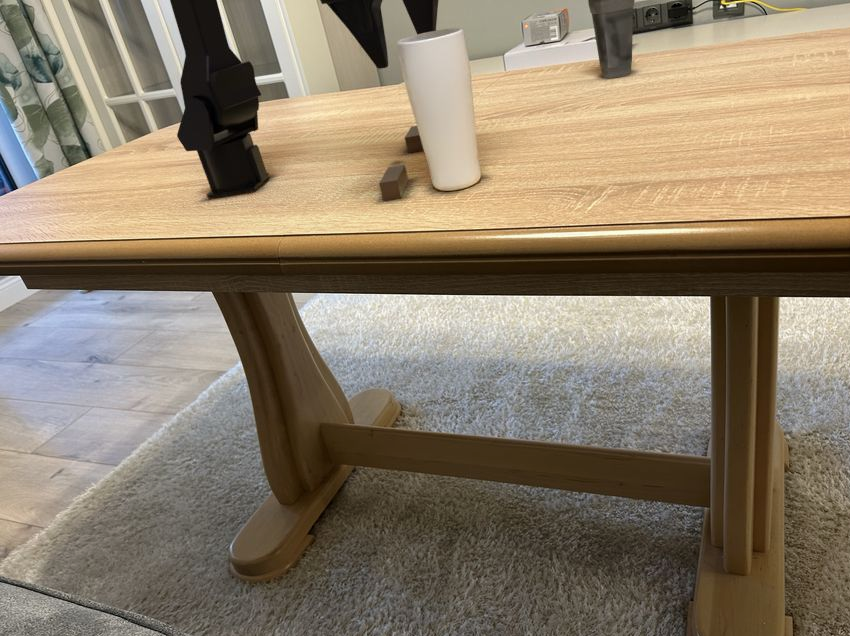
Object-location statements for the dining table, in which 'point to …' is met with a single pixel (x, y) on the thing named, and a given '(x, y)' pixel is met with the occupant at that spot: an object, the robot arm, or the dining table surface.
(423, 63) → the drinking glass
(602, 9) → the beverage cup
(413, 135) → the far stick
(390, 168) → the near stick
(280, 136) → the dining table surface
